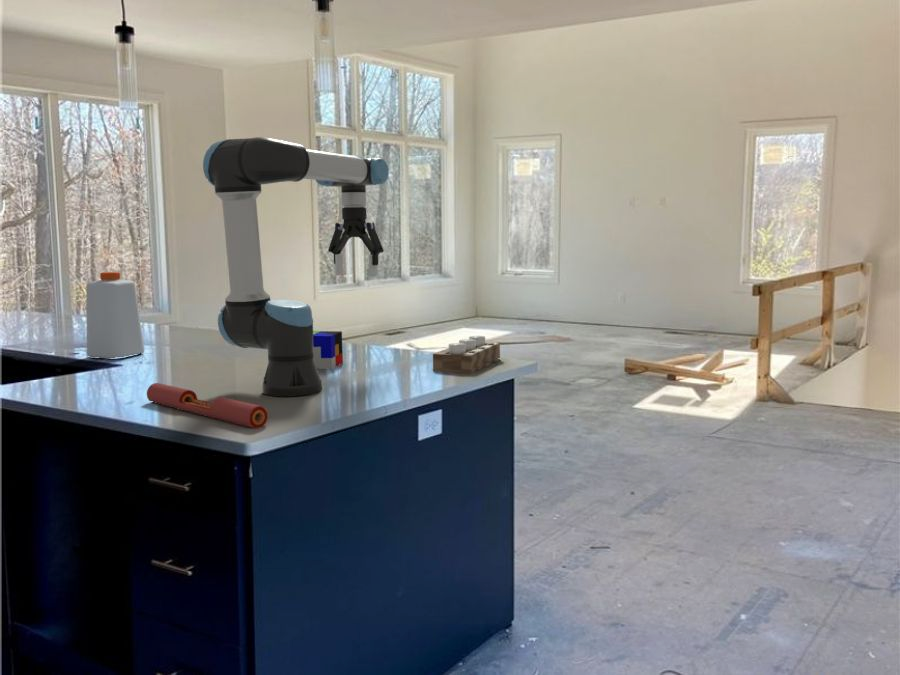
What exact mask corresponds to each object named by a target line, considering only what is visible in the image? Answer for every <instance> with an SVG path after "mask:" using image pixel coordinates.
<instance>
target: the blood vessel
mask: <svg viewBox="0 0 900 675" xmlns="http://www.w3.org/2000/svg"><path fill="white" fill-rule="evenodd" d="M146 397H147V400H148V401H149V402H150V401H153V402H156V403H160V404H164V405H167V406H166V407H168V406H171V407H170V408H172V407H175V408H174V409H176V408H179V409H178V410H180V409H182V410H181V411H184V410H186V411H185V412H188V411H190V412H189V413H192V412H194V413H193V414H196V413H198V414H197V415H200V414H202V415H201V416H204V415H206V416H205V417H207V416H209V417H208V418H211V417H213V418H212V419H215V418H217V420H219V419H220V421H223V420H224V422H227V421H228V422H227V423H231V422H232V424H235V425H239V426H244V427H248V428H251V429H257V428H261V427H264V426H265V425H266V423H267V422H268V417H269V416H268V414H269V413H268V411H267V409H266V407H264V406H262V405H259V404H253V403H251V402H250V403H249V402H245V401H241V400H237V399H236V400H235V399H232V398H227V397H223V396H220V397H216V398H215V399H214V400H213V401H212V402H210V401H205V400H203V399H198V396H197V394H196V392H195V391H193V390H191V389H187V388H182V387H178V386H173V385H169V384H165V383H164V384H163V383H161V382H156V383H155V382H154V383H152V384H150V385H149V387H148V388H147V390H146ZM156 403H155V404H156ZM160 404H159V405H160ZM164 405H163V406H164Z"/></svg>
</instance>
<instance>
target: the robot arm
mask: <svg viewBox="0 0 900 675" xmlns="http://www.w3.org/2000/svg"><path fill="white" fill-rule="evenodd" d="M202 169H203V174H204V177H205V179H207V181H208V183H209V184H211V185H212V186H214V194H215V195H216V196H217V198H219V199H220V201H222V203H221V204H222V213H223V216H222V217H223V224H224V226H223V227H224V238H225V248H226V257H227V258H226V261H227V268H228V270H227V271H228V277H229V282H228V283H229V289H230V290H229V294H228V295H227V296H226V297H225V300H224V301H225V302H224V303H225V305H224V306H223V307H222V308H221V309H220V313H219V314H218V317H217V326H218V331H219V333H220V335H221V337H222V339H224V340H225V341H226V342H227V343H228V344H230V345H231V346H235V347H239V348H243V349H249V348H251V349H260V350H267V357H268V358H267V359H268V360H267V361H268V364H267V366H266V370H265V373H264V378H263V381H262V394H264V395H267V396H272V397H298V396H299V397H300V396H306V395H307V396H308V395H312V394H317V393H319V392H320V391H322V389H323V386H322V385H323V384H322V380H321V376H320V373H319V371H318V370H319V369H317V368H316V365H315V362H314V349H313V331H314V318H313V313H312V312H313V311H312V309H311V306H310V305H309V304H308V303H306V302H302V301H299V300H293V299H271V295H270V294H269V293H268V292H267V291H266V290H265V289H264V279H263V278H264V277H263V276H264V275H263V267H262V254H261V252H262V251H261V243H260V242H261V240H260V232H259V231H260V228H259V219H258V206H257V205H258V204H257V198H258V197H259V196H260V194H261V193H262V185H269V184H274V183H275V184H277V183H284V182H294V183H295V182H300V181H302V180H315V182H316V183H317V184H318V185H319V186H324V187H326V188H327V187H337V188H338V187H340V191H341V206H342V208H341V215H342V216H341V218H342V221H343V222H336V223H334V224H335V225H334V231H333V234H332V238H331V241H330V244H329V246H328V249H327V251H328V253H332V255H333V264H334V265H335V276H342V275H344V259H343V258H344V257H343V253H342V251H343V250H344V247H345V246H346V244H348V242H349V240H350V239H351V238H359V239H361V241H362V242H363V244H364V246H365V247H366V248H367V250H368V251H369V254H368V268H369V270H368V271H369V277H376V276H378V273H377V272H378V270H377V268H378V267H377V266H378V265H379V254H381V253H383V252H384V248H383V245H382V242H381V241H380V239H379V236H378V233H377V230H376V227H375V222H371V221H370V222H369V221H368V222H367V221H366V219H367V217H368V216H367V208H366V207H365V206H367V191H366V190H367V189H366V186H377V185H383V184H385V183H386V182H387V180H388V179H389V165H388V163H387V161H386V160H385V159H383V158H381V157H372V158H370V157H369V158H368V157H367V158H366V157H364V156H362V155H352V154H351V155H346V154H341V153H332V152H326V151H319V150H314V149H307V148H306V147H305V146H303V145H302V144H299V143H294V142H290V141H285V140H281V139H275V138H270V137H265V136H263V137H262V136H261V137H256V136H255V137H250V138H249V137H248V138H232V139H231V138H229V139H225V140H219V141H216V142H214V143H212V144H211V145H210V146H209V148H208V149H207V150H206V151H205V153H204V156H203V160H202Z"/></svg>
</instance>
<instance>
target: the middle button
mask: <svg viewBox="0 0 900 675" xmlns="http://www.w3.org/2000/svg"><path fill="white" fill-rule="evenodd" d="M458 343H464V344H466V350H469V351H472V350H474V349H476V340H473V339H469V338H467V339H465V338H464V339H460V340H459V341H458Z"/></svg>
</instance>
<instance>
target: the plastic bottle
mask: <svg viewBox="0 0 900 675" xmlns="http://www.w3.org/2000/svg"><path fill="white" fill-rule="evenodd" d="M99 276H100V277H99V278H100V279H99V280H94V281H91V282H90V281H89V282H88V283H87V284H86V288H85V290H86V292H85V293H86V297H85V298H86V302H85V304H86V306H85V307H86V308H85V309H86V310H85V311H86V356H87V357H88V356H90V357H99V358H115V357H124V356H129V355H134V354H140V353H143V354H144V352H145V346H144V339H143V338H144V337H143V331H142V325H141V324H142V323H141V319H140V309H139V304H138V297H137V289H136V284H135V282H134V281H133V280H130V279H121V273H120V272H119V271H104V272H103V271H102V272H100V274H99Z"/></svg>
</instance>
